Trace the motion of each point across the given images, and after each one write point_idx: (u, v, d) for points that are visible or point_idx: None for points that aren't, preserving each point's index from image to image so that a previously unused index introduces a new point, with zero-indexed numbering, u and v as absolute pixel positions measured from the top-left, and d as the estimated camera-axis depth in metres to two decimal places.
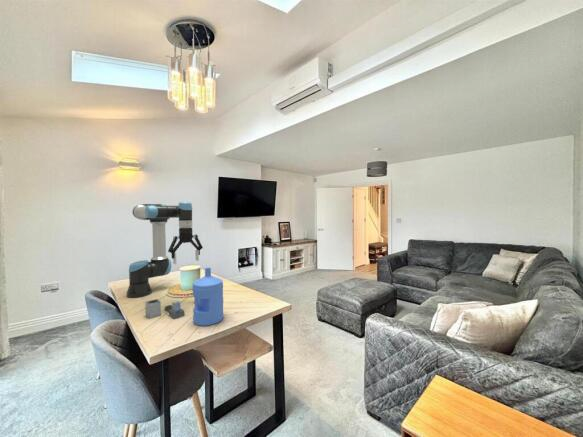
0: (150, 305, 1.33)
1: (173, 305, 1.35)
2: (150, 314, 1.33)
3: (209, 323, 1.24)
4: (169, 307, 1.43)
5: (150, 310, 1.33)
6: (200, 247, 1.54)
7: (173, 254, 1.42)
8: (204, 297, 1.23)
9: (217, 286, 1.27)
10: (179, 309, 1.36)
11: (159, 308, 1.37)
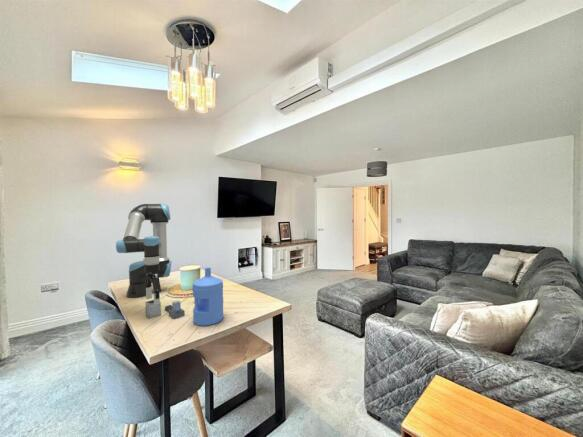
0: (150, 305, 1.33)
1: (173, 305, 1.35)
2: (150, 314, 1.33)
3: (209, 323, 1.24)
4: (169, 307, 1.43)
5: (150, 310, 1.33)
6: None
7: None
8: (204, 297, 1.23)
9: (217, 286, 1.27)
10: (179, 309, 1.36)
11: (159, 308, 1.37)
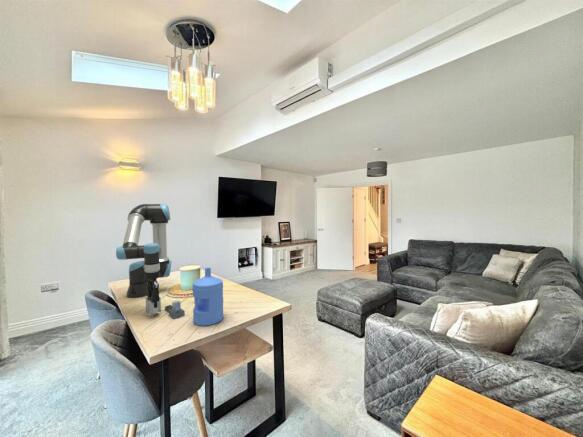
0: (150, 301, 1.34)
1: (173, 305, 1.35)
2: (150, 310, 1.34)
3: (209, 323, 1.24)
4: (169, 307, 1.43)
5: (150, 306, 1.34)
6: None
7: None
8: (204, 297, 1.23)
9: (217, 286, 1.27)
10: (179, 309, 1.36)
11: (159, 304, 1.37)
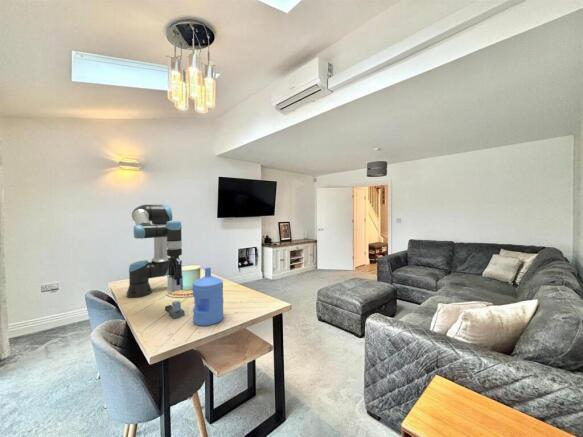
0: (173, 278, 1.32)
1: (173, 305, 1.35)
2: (173, 287, 1.32)
3: (209, 323, 1.24)
4: (169, 307, 1.43)
5: (173, 283, 1.32)
6: None
7: None
8: (204, 297, 1.23)
9: (217, 286, 1.27)
10: (179, 309, 1.36)
11: (181, 282, 1.36)
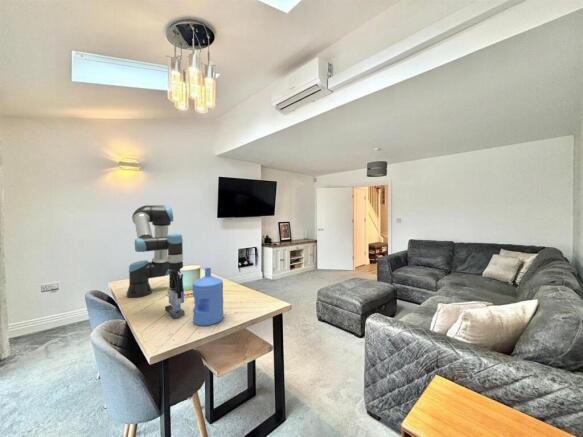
0: (174, 292, 1.33)
1: None
2: (174, 301, 1.33)
3: (209, 323, 1.24)
4: (169, 307, 1.43)
5: (174, 297, 1.33)
6: None
7: None
8: (204, 297, 1.23)
9: (217, 286, 1.27)
10: (179, 309, 1.36)
11: (182, 295, 1.36)
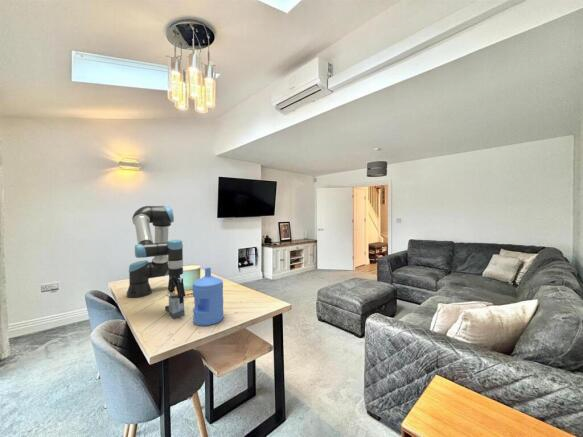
0: (174, 300, 1.33)
1: None
2: (174, 309, 1.33)
3: (209, 323, 1.24)
4: None
5: (174, 305, 1.33)
6: None
7: (170, 293, 1.41)
8: (204, 297, 1.23)
9: (217, 286, 1.27)
10: None
11: None
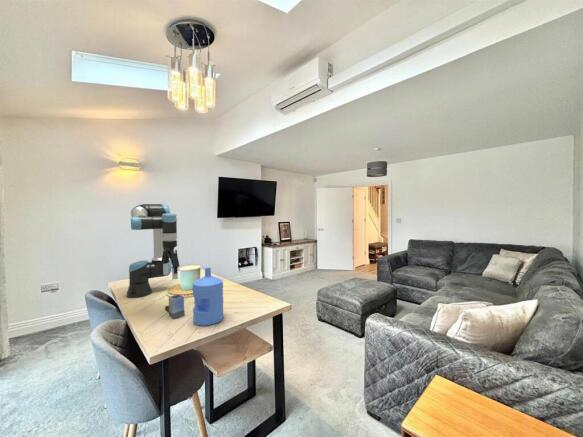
0: (174, 300, 1.33)
1: None
2: (174, 309, 1.33)
3: (209, 323, 1.24)
4: None
5: (174, 305, 1.33)
6: None
7: None
8: (204, 297, 1.23)
9: (217, 286, 1.27)
10: None
11: (182, 303, 1.36)
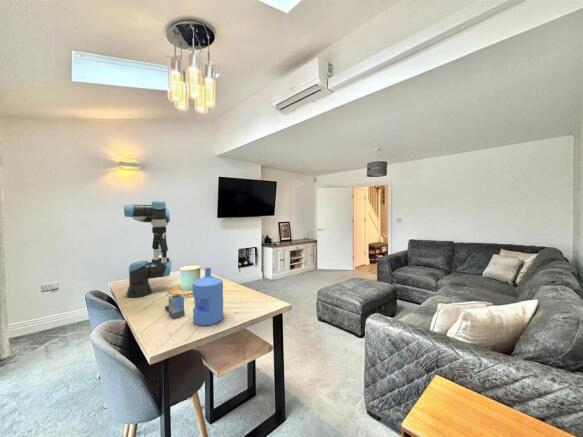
0: (174, 300, 1.33)
1: None
2: (174, 309, 1.33)
3: (209, 323, 1.24)
4: None
5: (174, 305, 1.33)
6: None
7: (154, 250, 1.52)
8: (204, 297, 1.23)
9: (217, 286, 1.27)
10: None
11: (182, 303, 1.36)
